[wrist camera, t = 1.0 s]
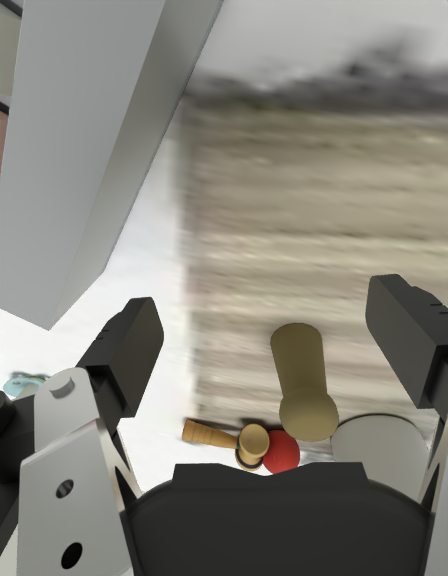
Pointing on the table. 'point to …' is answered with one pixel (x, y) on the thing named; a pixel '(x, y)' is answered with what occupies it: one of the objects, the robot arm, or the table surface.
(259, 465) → the kendama
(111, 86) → the keypad
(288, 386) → the olive ball-ended cylinder
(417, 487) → the cylinder vase
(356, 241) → the table surface
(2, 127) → the key coral
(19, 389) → the pacifier
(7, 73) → the key cream
